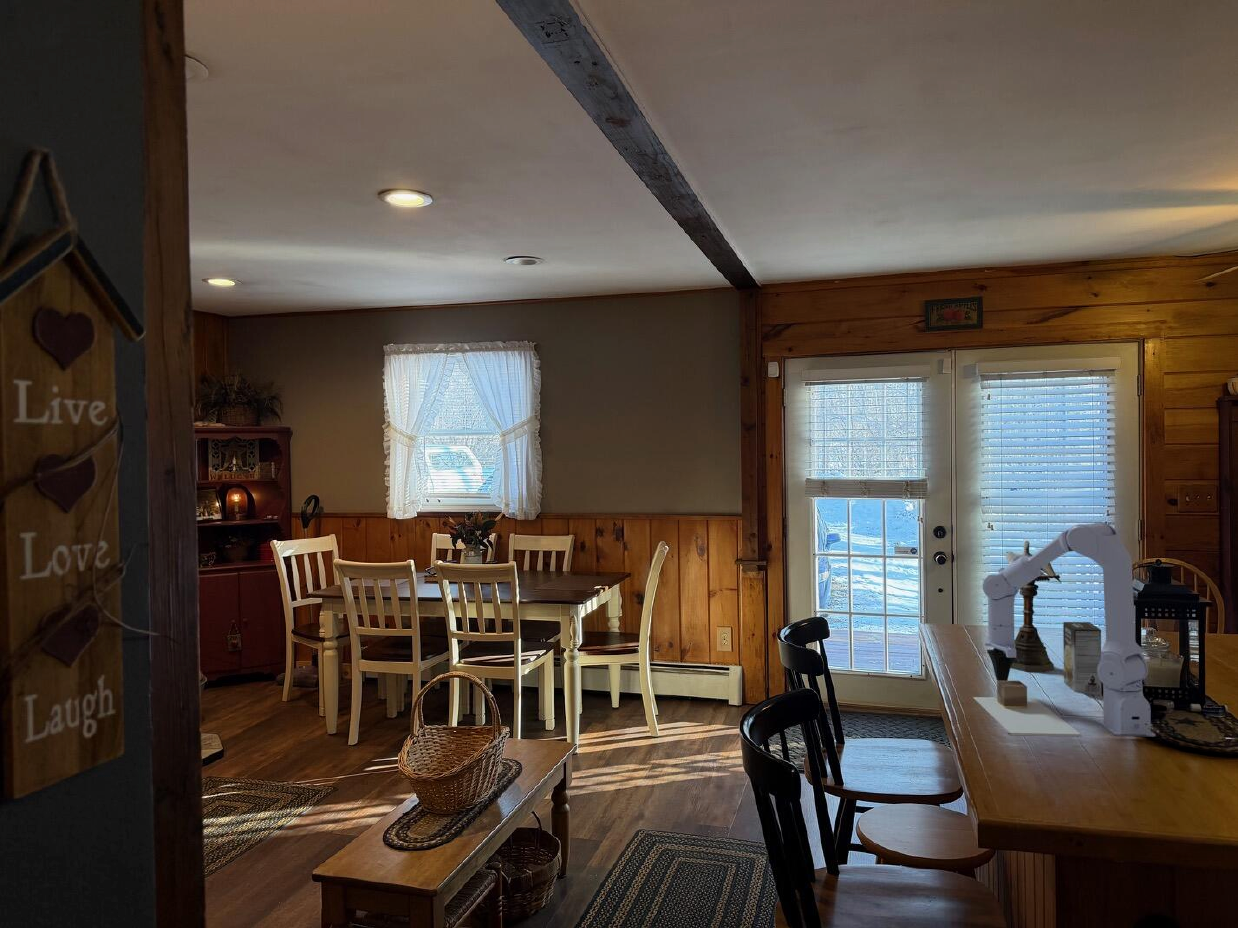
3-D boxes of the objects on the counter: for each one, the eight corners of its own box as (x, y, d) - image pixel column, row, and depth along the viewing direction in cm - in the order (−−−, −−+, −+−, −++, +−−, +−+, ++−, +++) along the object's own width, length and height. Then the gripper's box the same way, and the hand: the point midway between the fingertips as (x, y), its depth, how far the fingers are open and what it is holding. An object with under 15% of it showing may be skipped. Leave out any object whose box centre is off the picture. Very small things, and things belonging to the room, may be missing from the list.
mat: (1080, 736, 176) (1080, 733, 176) (1010, 735, 178) (1010, 732, 178) (1034, 700, 202) (1034, 697, 202) (972, 699, 204) (972, 697, 204)
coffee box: (1062, 684, 215) (1061, 621, 215) (1090, 685, 214) (1089, 621, 214) (1074, 694, 206) (1073, 628, 206) (1103, 695, 205) (1102, 629, 205)
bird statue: (1071, 677, 221) (1069, 543, 221) (1017, 675, 224) (1015, 543, 223) (1052, 662, 237) (1050, 537, 237) (1002, 660, 240) (1000, 537, 240)
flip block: (1027, 708, 194) (1027, 686, 194) (1004, 707, 195) (1004, 686, 195) (1019, 701, 199) (1019, 680, 199) (997, 701, 200) (996, 680, 199)
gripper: (974, 618, 211) (975, 672, 211) (993, 630, 197) (994, 688, 197) (1004, 618, 210) (1004, 672, 210) (1025, 630, 196) (1026, 689, 196)
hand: (1001, 680), depth 204 cm, fingers closed
